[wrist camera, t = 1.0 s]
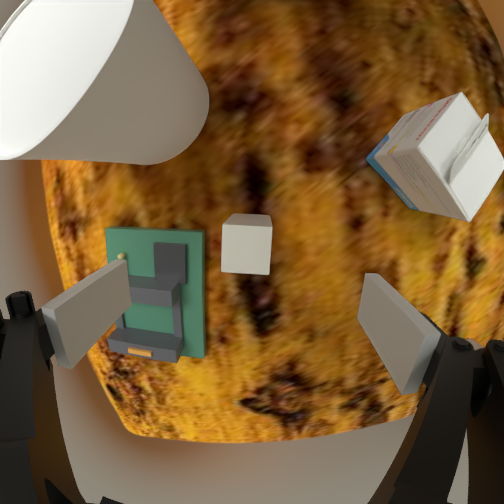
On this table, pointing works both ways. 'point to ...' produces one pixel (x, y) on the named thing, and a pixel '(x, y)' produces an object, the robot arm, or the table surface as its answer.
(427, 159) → the ink box
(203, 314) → the board
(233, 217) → the plug
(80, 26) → the canister
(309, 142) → the table surface
